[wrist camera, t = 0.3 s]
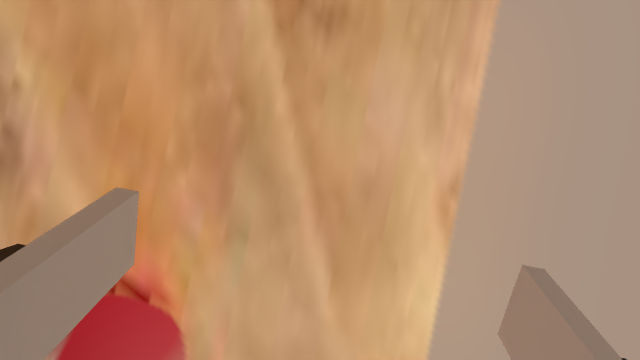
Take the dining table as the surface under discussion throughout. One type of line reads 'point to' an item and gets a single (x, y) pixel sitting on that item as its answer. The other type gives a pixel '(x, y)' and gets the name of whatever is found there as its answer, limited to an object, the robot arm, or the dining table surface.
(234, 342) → the dining table surface
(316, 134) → the dining table surface
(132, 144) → the dining table surface
